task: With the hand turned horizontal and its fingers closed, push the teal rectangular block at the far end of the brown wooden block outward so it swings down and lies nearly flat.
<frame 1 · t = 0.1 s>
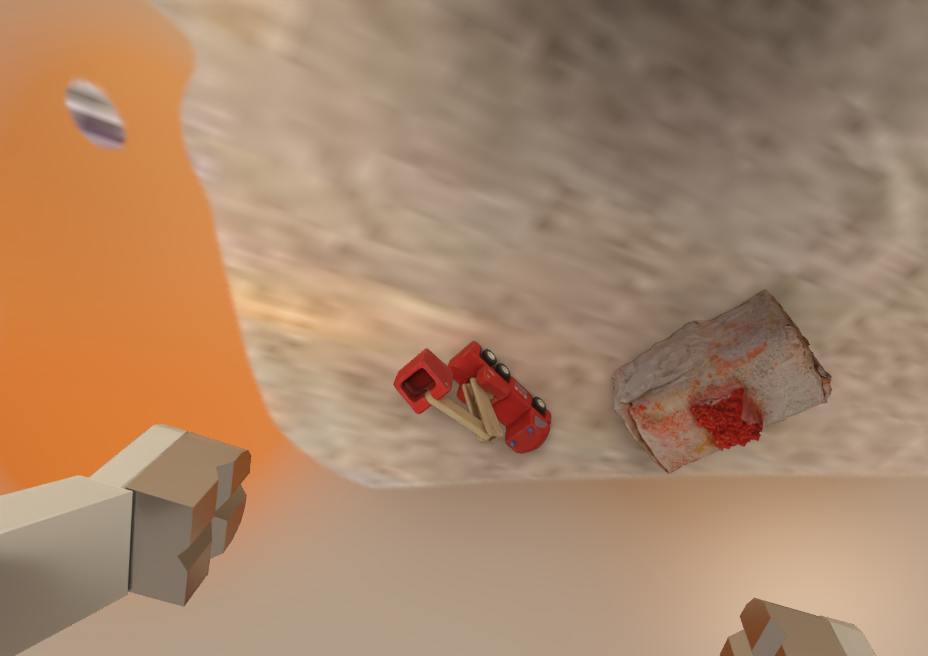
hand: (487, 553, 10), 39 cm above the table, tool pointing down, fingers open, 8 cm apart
grey paint-stained brick: (702, 352, 50), on the table
toy fire truck: (489, 371, 54), on the table
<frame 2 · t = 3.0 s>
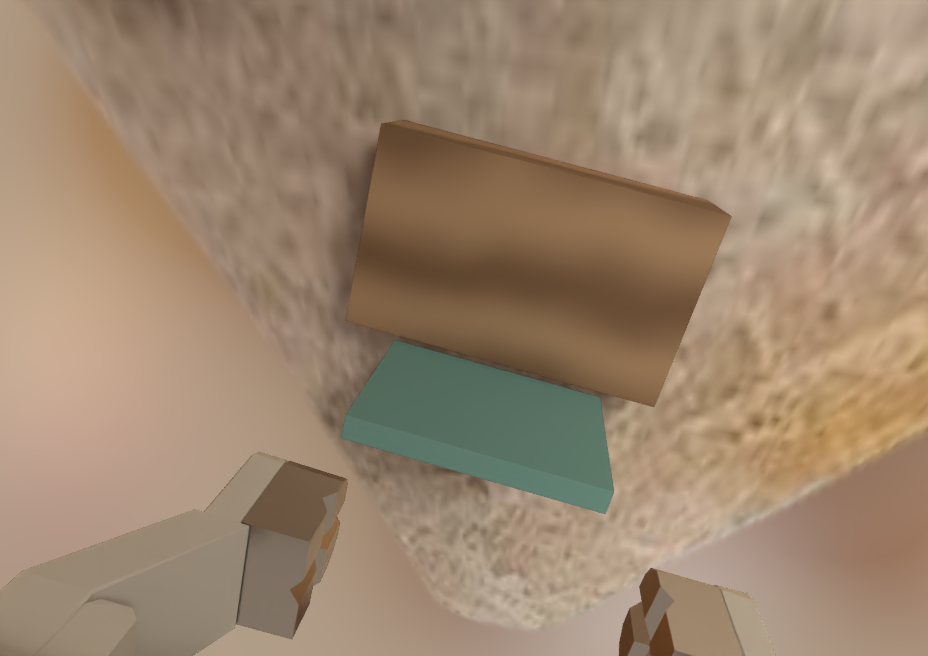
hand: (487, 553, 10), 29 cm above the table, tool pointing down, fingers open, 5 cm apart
brown wooden block: (528, 250, 38), on the table
teal rectangular block: (486, 415, 31), point 9 cm above the table, hinge at 0.0°
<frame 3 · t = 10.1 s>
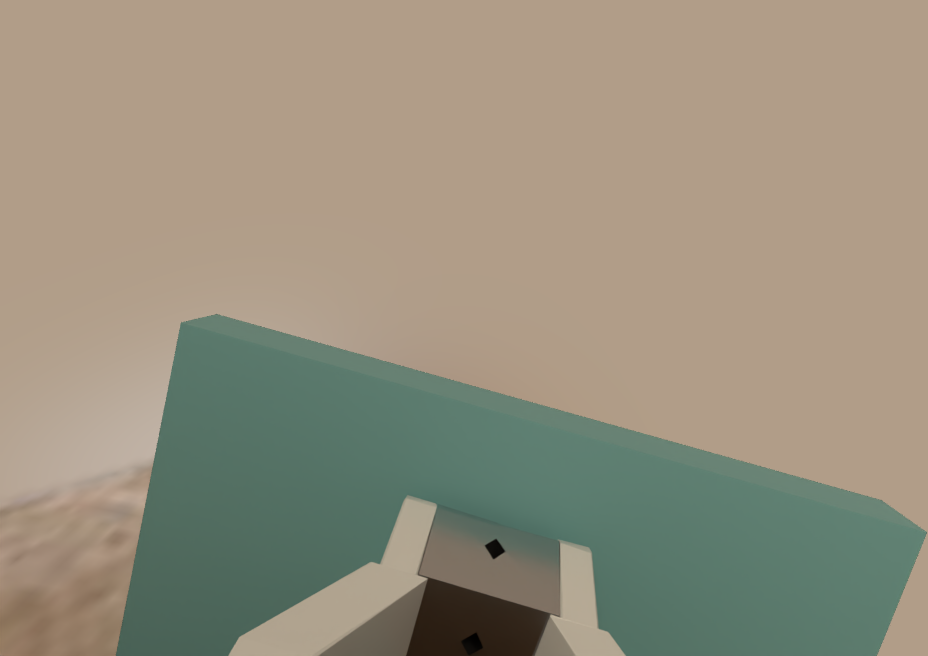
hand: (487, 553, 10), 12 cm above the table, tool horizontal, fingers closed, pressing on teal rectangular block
teal rectangular block: (471, 652, 11), point 10 cm above the table, hinge at 12.4°, touching gripper
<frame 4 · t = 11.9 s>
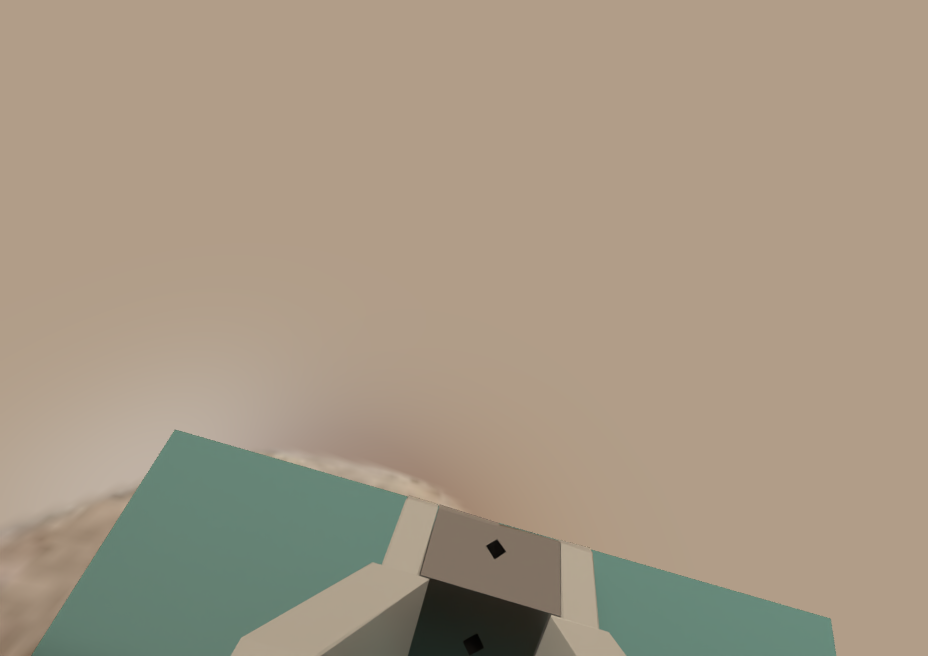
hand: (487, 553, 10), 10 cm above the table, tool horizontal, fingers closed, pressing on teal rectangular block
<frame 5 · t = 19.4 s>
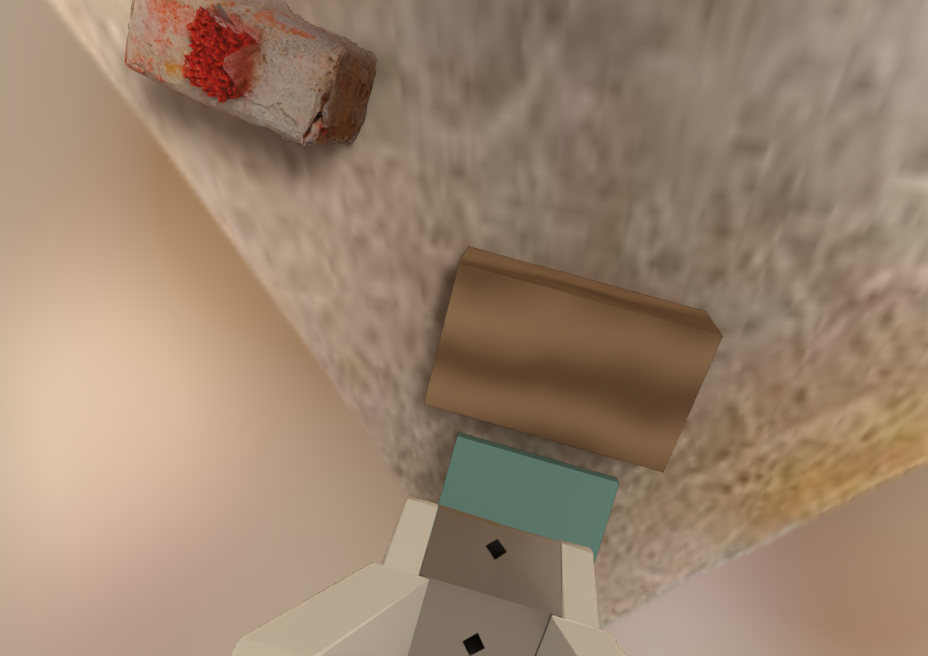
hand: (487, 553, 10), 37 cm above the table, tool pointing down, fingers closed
grey paint-stained brick: (284, 60, 44), on the table
brown wooden block: (564, 345, 48), on the table
teal rectangular block: (520, 515, 46), point 7 cm above the table, hinge at 73.3°
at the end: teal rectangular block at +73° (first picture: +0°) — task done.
